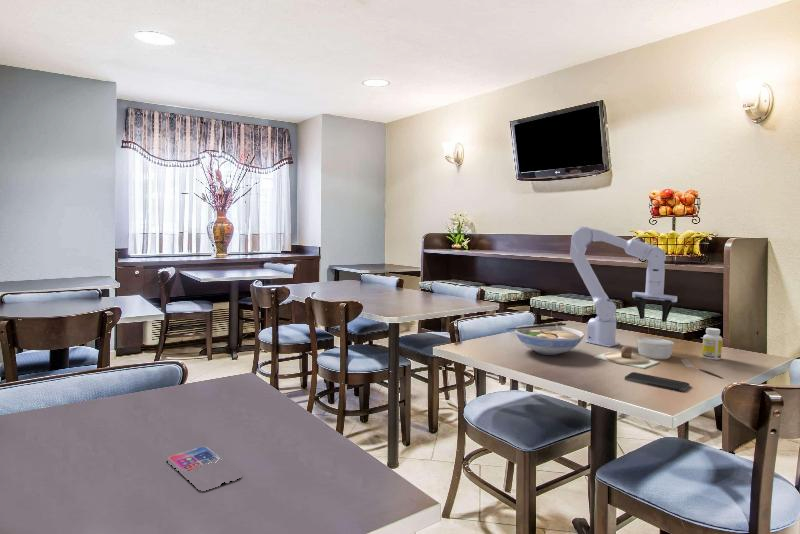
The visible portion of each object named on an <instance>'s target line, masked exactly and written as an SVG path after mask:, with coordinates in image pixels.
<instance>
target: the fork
mask: <svg viewBox="0 0 800 534" xmlns="http://www.w3.org/2000/svg"><path fill="white" fill-rule="evenodd" d="M681 361H682V363H683V364H684V365H685V367H687V368H688V367H692V368H693V367H694V368H693V369H695V370H698V371H700V372H703V373H705V374H707V375H711V376H712V377H713V376H714V377H716V378H719V379H724V377H722V376H720V375H718V374H715V373H714V372H711V371H708V370H705V369H701V368H698V367H695V366H694V365H693V364H692V362H691V361H690V360H689V359H688V358H685V359H684V358H683V359H682V358H681Z"/></svg>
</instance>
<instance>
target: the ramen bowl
mask: <svg viewBox="0 0 800 534" xmlns="http://www.w3.org/2000/svg"><path fill="white" fill-rule="evenodd" d="M566 325H567V323H563V322H562V321H561V322H554V323H553V322H552V323H543V324H525V325H519V326H516V327H511V328H506V330H514V331H515V334H516V336H517V338H518V339H519V341H520V342H521V343H522V344H523V345H524V347H526V348H528V349H531V350H532V351H534V352H536V353H538V354H540V355H544V356H556V355H557V356H558V355H560V354H562V353H566V352H569V351H571V350H573V349H575V348H576V347H577V346H578V345H579V344H580V343H581V341H582V340H583V338H584V337H585V333H584V332H583V331H581V330H578V329H576V328H570V327H566Z"/></svg>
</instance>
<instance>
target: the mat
mask: <svg viewBox="0 0 800 534" xmlns="http://www.w3.org/2000/svg"><path fill="white" fill-rule="evenodd" d="M610 352H611V351H607V352H605V353H601V354H598V355H594V356H593V358H594V359H599V360H603V361H607V362H610V363H616V364H621V365H624V366H630V367H632V368H633V367H634V368H638V369H642V370H643V369H646V368H649V367H652V366H654V365H657V364H660V361H657V360H654V359H652V360H651V359H649V362H648V363H646V364H623V363H618V362H613V361H610V360H608V359H606V358H605V354H606V353H610Z"/></svg>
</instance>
